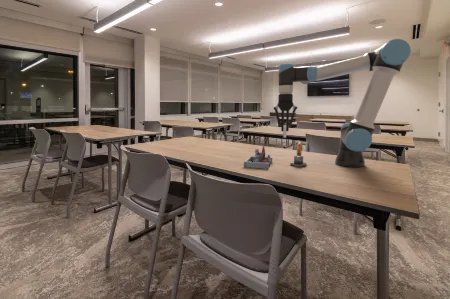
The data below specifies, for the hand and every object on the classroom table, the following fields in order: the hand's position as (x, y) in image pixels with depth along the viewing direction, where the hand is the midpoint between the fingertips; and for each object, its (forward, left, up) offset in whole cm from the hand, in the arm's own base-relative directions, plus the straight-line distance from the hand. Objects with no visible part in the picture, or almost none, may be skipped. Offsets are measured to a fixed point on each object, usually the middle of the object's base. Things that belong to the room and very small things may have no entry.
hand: (284, 137), depth 140 cm
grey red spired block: (+12, +1, -16) cm, 20 cm away
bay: (+14, +2, -16) cm, 21 cm away
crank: (-8, -7, -15) cm, 18 cm away
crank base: (-8, -3, -16) cm, 18 cm away
